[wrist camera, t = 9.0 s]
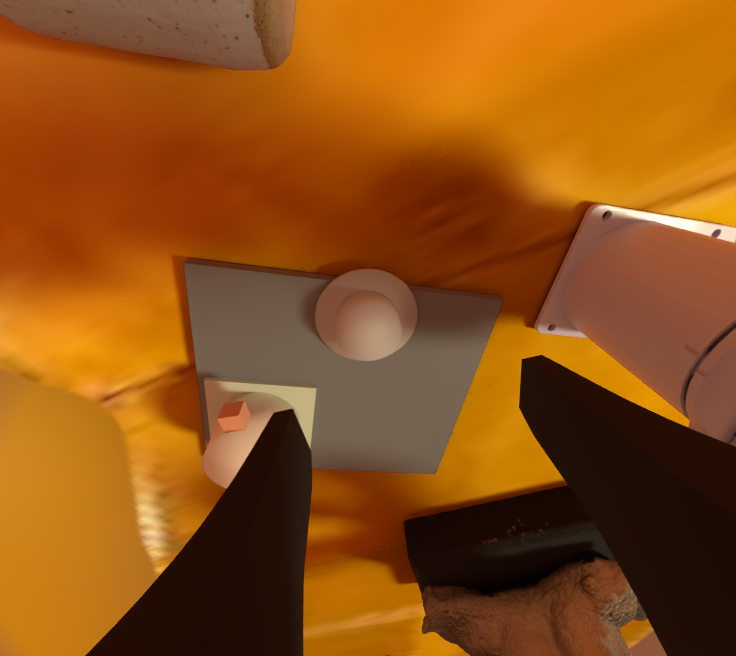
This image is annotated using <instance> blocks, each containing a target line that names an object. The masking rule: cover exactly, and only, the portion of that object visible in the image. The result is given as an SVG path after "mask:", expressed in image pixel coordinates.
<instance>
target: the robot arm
mask: <svg viewBox="0 0 736 656" xmlns="http://www.w3.org/2000/svg"><path fill="white" fill-rule="evenodd" d="M606 211H607V214H606V216H605V217H604V218H603V219H602V216H603V214H604V213H605V212H606ZM712 233H713V234H712ZM735 240H736V227H733V226H728V225H722V224H716V223H711V222H705V221H699V220H693V219H687V218H681V217H675V216H669V215H664V214H658V213H652V212H646V211H640V210H634V209H628V208H622V207H617V206H611V205H605V204H594V205H592V206H591V207H589V208H588V210H587V211H586V214H585V216H584V218H583V220H582V222H581V224H580V227H579V229H578V231H577V233H576V235H575V237H574V240H573V242H572V244H571V246H570V248H569V250H568V253H567V255H566V257H565V259H564V261H563V263H562V266H561V268H560V270H559V272H558V274H557V276H556V279H555V281H554V283H553V285H552V287H551V289H550V292H549V294H548V296H547V298H546V300H545V302H544V305H543V307H542V309H541V311H540V313H539V316H538V318H537V320H536V322H535V325H534V327H535V329H536V330H537V331H538V332H539V333H544V334H553V335H563V336H572V337H582V338H589V339H590V340H591V341H593V342H594V343H595V344H596V345H598V346H599V347H600V348H601V349H602V350H604V351H605V352H606V353H607V354H609V355H610V356H611V357H612V358H614V359H615V360H616V361H617V362H619V363H620V364H621V365H622V366H623V367H625V368H626V369H627V370H628V371H630V372H631V373H632V374H633V375H635V376H636V377H637V378H638V379H640V380H641V381H642V382H643V383H644V384H646V385H647V386H648V387H649V388H651V389H652V390H653V391H654V392H656V393H657V394H658V395H659V396H661V397H662V398H663V399H664V400H666V401H667V402H668V403H669V404H670V405H672V406H673V407H674V408H675V409H677V410H678V411H679V412H680V413H682V414H683V415H684V416H685V417H687V418H688V419H689V420H690V424H689V427H685V426H683V425H681V424H678V423H676V422H674V421H671V420H669V419H667V418H665V417H663V416H660V415H658V414H656V413H654V412H652V411H650V410H647V409H645V408H643V407H641V406H639V405H637V404H635V403H633V402H631V401H629V400H627V399H625V398H622V397H620V396H618V395H617V394H615V393H613V392H611V391H609V390H607V389H605V388H603V387H601V386H599V385H597V384H595V383H593V382H592V381H590V380H588V379H586V378H584V377H582V376H580V375H578V374H577V373H575V372H573V371H571V370H569V369H567V368H566V367H564V366H562V365H560V364H558V363H556V362H554V361H552V360H551V359H549V358H547V357H545V356H543V355H539V356H535V357H530V358H525V359H522V367H521V384H520V402H519V408H520V410H521V412H522V414H523V416H524V418H525V420H526V422H527V424H528V426H529V427H530V429H531V431H532V433H533V435H534V436H535V438H536V439H537V441H538V442H539V444H540V445H541V447H542V448H543V450H544V451H545V452H546V454H547V455H548V457H549V458H550V460H551V461H552V463H553V464H554V465H555V467H556V468H557V470H558V471H559V472H560V474H561V475H562V477H563V478H564V479H565V481H566V482H567V484H568V485H569V487H570V488H571V489H572V491H573V492H574V494H575V495H576V496H577V498H578V499H579V501H580V502H581V504H582V505H583V506H584V508H585V510H586V511H587V513H588V514H589V516H590V517H591V519H592V520H593V522H594V523H595V525H596V527H597V529H598V530H599V532H600V534H601V535H602V537H603V539H604V541H605V542H606V544H607V546H608V547H609V549H610V551H611V553H612V554H613V556H614V558H615V559H616V561H617V563H618V565H619V567H620V568H621V570H622V572H623V574H624V576H625V578H626V579H627V581H628V583H629V585H630V587H631V588H632V590H633V592H634V594H635V596H636V597H637V599H638V601H639V603H640V605H641V607H642V609H643V610H644V612H645V614H646V616H647V618H648V620H649V622H650V624H651V626H652V628H653V629H654V631H655V633H656V635H657V637H658V639H659V641H660V643H661V645H662V646H663V648H664V650H665V652H666V654H667V656H736V243H734V241H735ZM551 324H552V326H551V327H550V328H548V327H549V325H551ZM311 492H312V454H311V449H310V447H309V445H308V442H307V440H306V438H305V435H304V433H303V431H302V428H301V426H300V424H299V421H298V419H297V417H296V414H295V412H294V410H293V409H288V410H283V411H279V412H274V413H273V415H272V416H271V418H270V419H269V421H268V423H267V424H266V426H265V428H264V429H263V431H262V433H261V435H260V436H259V438H258V440H257V441H256V443H255V445H254V446H253V448H252V450H251V451H250V453H249V455H248V456H247V458H246V460H245V461H244V463H243V464H242V466H241V468H240V469H239V471H238V472H237V474H236V476H235V477H234V479H233V480H232V482H231V483H230V485H229V486H228V488H227V489H226V490H225V492H224V493H223V495H222V496H221V498H220V499H219V501H218V502H217V504H216V505H215V507H214V508H213V509H212V511H211V512H210V514H209V515H208V516H207V518H206V519H205V520H204V522H203V523H202V524H201V526H200V527H199V528H198V530H197V531H196V532H195V534H194V535H193V536H192V538H191V539H190V540H189V541H188V543H187V544H186V545H185V546H184V548H183V549H182V550H181V551H180V553H179V554H178V555H177V556H176V557H175V559H174V560H173V561H172V562H171V563H170V564H169V566H168V567H167V568H166V569H165V570H164V571H163V573H162V574H161V575H160V576H159V577H158V578H157V579H156V581H155V582H154V583H153V584H152V585H151V586H150V588H149V589H148V590H147V591H146V592H145V593H144V594H143V596H142V597H141V598H140V599H139V600H138V601H137V602H136V603H135V604H134V605H133V607H132V608H131V609H130V610H129V611H128V612H127V613H126V614H125V615H124V616H123V617H122V618H121V619H120V620H119V622H118V623H117V624H116V625H115V626H114V627H113V628H112V629H111V630H110V631H109V632H108V633H107V634H106V635H105V636H104V637H103V638H102V639H101V640H100V641H99V642H98V643H97V644H96V645H95V646H94V648H93V649H92V650H91V651H90V652H89V653H88V654H87V655H85V656H303V586H304V566H305V555H306V544H307V534H308V524H309V514H310V503H311Z"/></svg>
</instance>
